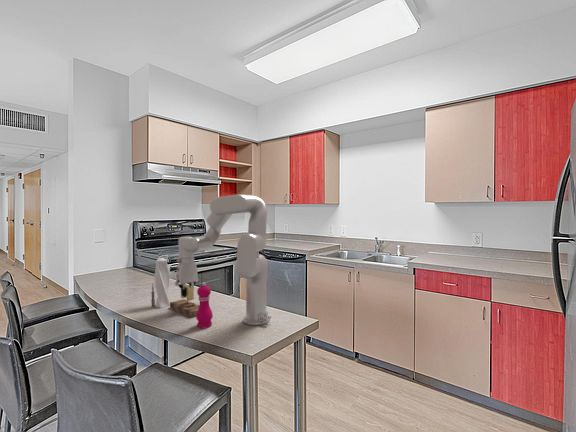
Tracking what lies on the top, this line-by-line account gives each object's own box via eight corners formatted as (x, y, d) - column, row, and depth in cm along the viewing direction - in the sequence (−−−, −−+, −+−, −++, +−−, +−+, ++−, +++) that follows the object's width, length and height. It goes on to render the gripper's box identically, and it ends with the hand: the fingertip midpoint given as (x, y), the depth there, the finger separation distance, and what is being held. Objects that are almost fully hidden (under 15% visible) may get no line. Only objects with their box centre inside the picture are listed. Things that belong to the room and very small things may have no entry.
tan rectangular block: (193, 299, 159) (193, 286, 158) (188, 300, 156) (188, 288, 156) (185, 296, 164) (185, 284, 164) (180, 297, 162) (180, 285, 161)
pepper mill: (206, 321, 146) (205, 279, 145) (216, 325, 141) (215, 282, 140) (193, 326, 140) (192, 282, 139) (202, 330, 135) (201, 285, 135)
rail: (205, 313, 156) (205, 307, 156) (191, 318, 150) (191, 312, 150) (183, 304, 171) (183, 299, 171) (170, 308, 165) (169, 302, 165)
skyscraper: (164, 302, 174) (162, 253, 173) (173, 305, 170) (172, 255, 169) (150, 307, 167) (149, 256, 166) (160, 309, 163) (159, 257, 162)
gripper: (175, 263, 151) (175, 300, 151) (204, 259, 163) (204, 293, 163) (168, 261, 156) (168, 297, 156) (196, 257, 168) (197, 290, 169)
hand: (187, 295), depth 160 cm, fingers closed on tan rectangular block, 3 cm apart
